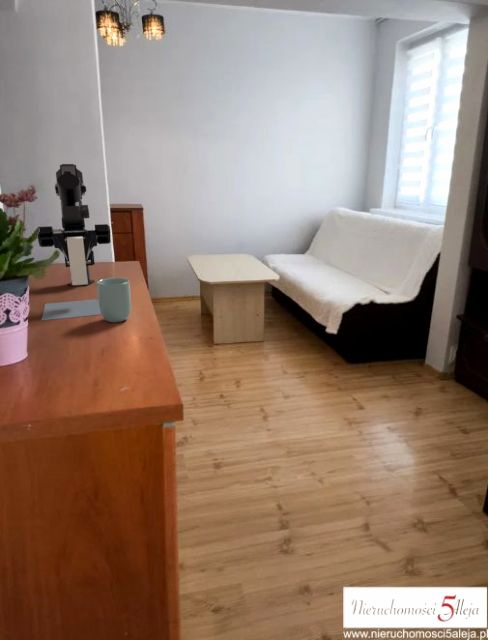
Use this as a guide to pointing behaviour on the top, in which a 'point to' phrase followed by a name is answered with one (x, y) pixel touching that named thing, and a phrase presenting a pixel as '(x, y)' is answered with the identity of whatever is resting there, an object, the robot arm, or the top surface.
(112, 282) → the cup
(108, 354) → the top surface
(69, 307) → the slate mat
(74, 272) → the block
